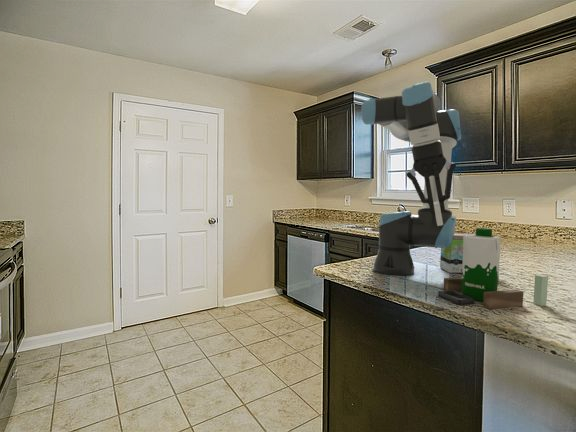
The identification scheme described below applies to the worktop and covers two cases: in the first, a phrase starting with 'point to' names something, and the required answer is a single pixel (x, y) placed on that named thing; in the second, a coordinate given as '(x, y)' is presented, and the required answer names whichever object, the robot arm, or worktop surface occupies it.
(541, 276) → the gate
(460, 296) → the pit tray
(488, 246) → the soya milk
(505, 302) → the channel
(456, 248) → the tea box
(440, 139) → the robot arm
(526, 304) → the worktop surface
